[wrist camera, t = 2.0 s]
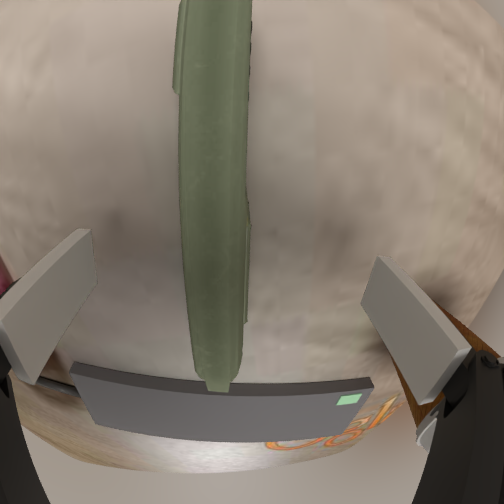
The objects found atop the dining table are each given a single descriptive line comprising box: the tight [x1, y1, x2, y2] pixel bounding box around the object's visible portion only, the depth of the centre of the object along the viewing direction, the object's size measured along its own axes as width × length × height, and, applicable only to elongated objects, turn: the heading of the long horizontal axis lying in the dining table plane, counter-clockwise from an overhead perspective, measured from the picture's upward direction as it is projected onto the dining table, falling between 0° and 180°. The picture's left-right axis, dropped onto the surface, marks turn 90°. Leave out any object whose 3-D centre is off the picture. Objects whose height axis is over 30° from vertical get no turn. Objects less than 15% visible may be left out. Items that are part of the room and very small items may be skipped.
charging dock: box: [35, 362, 374, 442], centre depth 24 cm, size 38×10×2 cm, turn 83°
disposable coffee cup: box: [389, 300, 504, 453], centre depth 17 cm, size 10×10×12 cm
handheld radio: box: [172, 0, 252, 392], centre depth 15 cm, size 7×3×25 cm
